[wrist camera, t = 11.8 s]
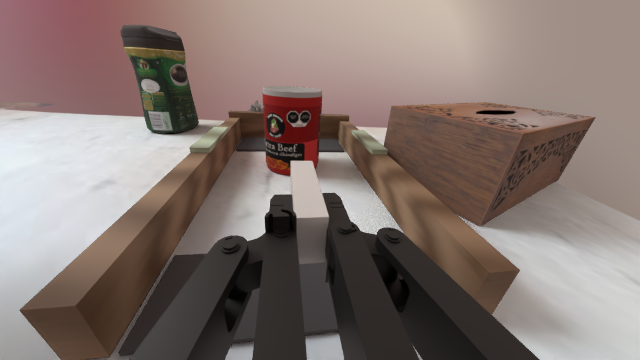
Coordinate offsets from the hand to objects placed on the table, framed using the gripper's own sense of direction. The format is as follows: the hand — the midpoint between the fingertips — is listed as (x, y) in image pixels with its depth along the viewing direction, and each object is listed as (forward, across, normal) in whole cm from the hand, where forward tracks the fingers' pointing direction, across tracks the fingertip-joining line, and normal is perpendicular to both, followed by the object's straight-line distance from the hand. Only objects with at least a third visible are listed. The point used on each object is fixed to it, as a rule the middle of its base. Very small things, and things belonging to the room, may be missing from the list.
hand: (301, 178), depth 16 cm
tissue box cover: (+14, +28, -7) cm, 31 cm away
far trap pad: (+28, 0, -6) cm, 29 cm away
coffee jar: (+38, -25, -7) cm, 46 cm away
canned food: (+18, 0, -7) cm, 19 cm away
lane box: (+13, 0, -6) cm, 15 cm away
